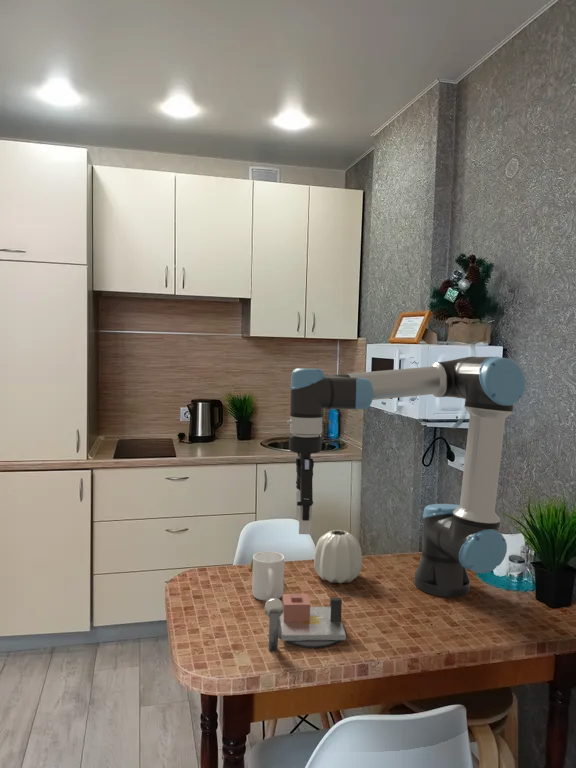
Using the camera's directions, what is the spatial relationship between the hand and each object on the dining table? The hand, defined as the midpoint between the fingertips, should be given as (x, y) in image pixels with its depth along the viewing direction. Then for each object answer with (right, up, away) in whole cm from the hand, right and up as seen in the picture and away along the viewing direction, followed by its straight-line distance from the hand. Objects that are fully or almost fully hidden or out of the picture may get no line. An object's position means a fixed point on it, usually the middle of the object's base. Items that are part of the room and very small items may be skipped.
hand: (302, 524), depth 133 cm
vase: (+11, -23, +30) cm, 40 cm away
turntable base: (+2, -24, -1) cm, 24 cm away
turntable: (+2, -23, -2) cm, 23 cm away
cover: (-2, -22, +1) cm, 22 cm away
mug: (-9, -23, +16) cm, 29 cm away
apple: (-10, -23, +28) cm, 37 cm away
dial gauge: (-7, -24, -10) cm, 27 cm away
